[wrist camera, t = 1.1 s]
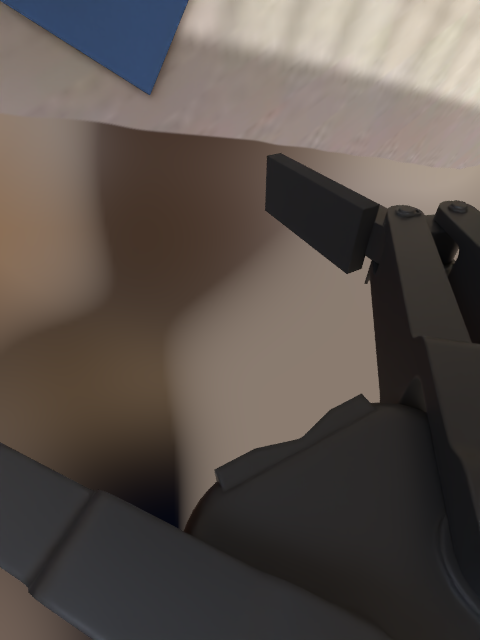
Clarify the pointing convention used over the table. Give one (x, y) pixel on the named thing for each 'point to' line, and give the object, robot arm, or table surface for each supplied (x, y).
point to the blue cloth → (112, 31)
